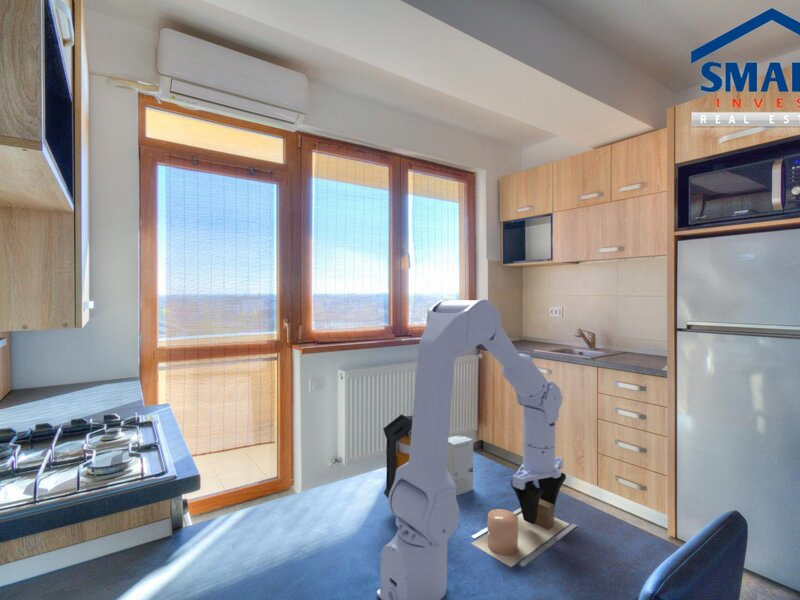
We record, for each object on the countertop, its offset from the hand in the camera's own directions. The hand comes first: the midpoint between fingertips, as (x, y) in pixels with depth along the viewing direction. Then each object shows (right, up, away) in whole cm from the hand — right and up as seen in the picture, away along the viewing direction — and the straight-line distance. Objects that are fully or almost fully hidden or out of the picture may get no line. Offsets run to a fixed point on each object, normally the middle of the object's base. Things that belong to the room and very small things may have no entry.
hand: (538, 515), depth 75 cm
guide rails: (-3, -2, -3) cm, 5 cm away
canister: (-24, -3, +4) cm, 25 cm away
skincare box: (-13, -3, +14) cm, 19 cm away
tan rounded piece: (-9, -1, -7) cm, 12 cm away
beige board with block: (-4, -2, -4) cm, 6 cm away
